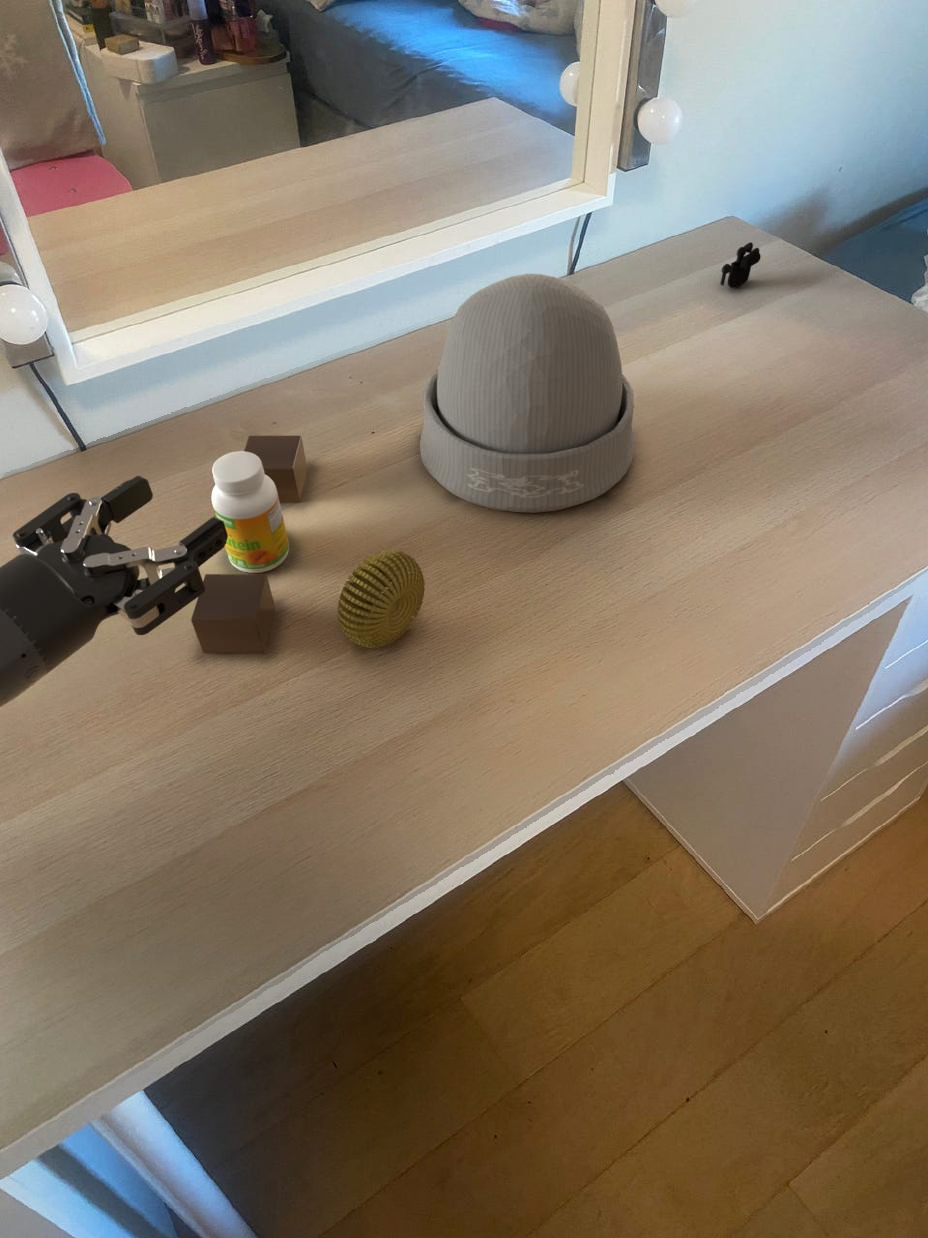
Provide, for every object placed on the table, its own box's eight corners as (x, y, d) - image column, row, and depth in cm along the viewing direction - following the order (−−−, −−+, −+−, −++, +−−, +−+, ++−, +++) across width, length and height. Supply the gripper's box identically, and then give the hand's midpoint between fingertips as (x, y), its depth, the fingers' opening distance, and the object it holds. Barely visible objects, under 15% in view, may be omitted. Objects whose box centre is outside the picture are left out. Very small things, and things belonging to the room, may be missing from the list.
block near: (216, 607, 75) (205, 573, 72) (275, 607, 75) (266, 574, 72) (203, 653, 71) (190, 620, 68) (265, 653, 71) (255, 620, 68)
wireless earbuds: (748, 273, 111) (757, 233, 107) (765, 280, 110) (775, 239, 106) (713, 292, 108) (722, 252, 104) (730, 300, 107) (739, 259, 103)
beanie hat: (419, 540, 91) (396, 463, 72) (433, 352, 96) (415, 232, 77) (625, 550, 90) (659, 474, 71) (629, 359, 95) (662, 238, 75)
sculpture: (401, 594, 75) (393, 522, 69) (437, 616, 74) (432, 545, 68) (334, 651, 71) (319, 580, 65) (370, 675, 69) (359, 605, 64)
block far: (256, 468, 87) (248, 435, 84) (307, 468, 87) (301, 435, 84) (247, 502, 84) (238, 468, 81) (300, 502, 84) (293, 468, 81)
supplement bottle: (218, 569, 78) (191, 482, 71) (243, 528, 81) (219, 441, 74) (276, 579, 77) (254, 491, 70) (299, 537, 80) (280, 450, 73)
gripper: (48, 645, 55) (239, 502, 63) (-83, 553, 60) (108, 434, 69) (89, 717, 60) (259, 577, 69) (-35, 627, 66) (137, 508, 75)
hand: (183, 505), depth 69 cm, fingers open, 8 cm apart
